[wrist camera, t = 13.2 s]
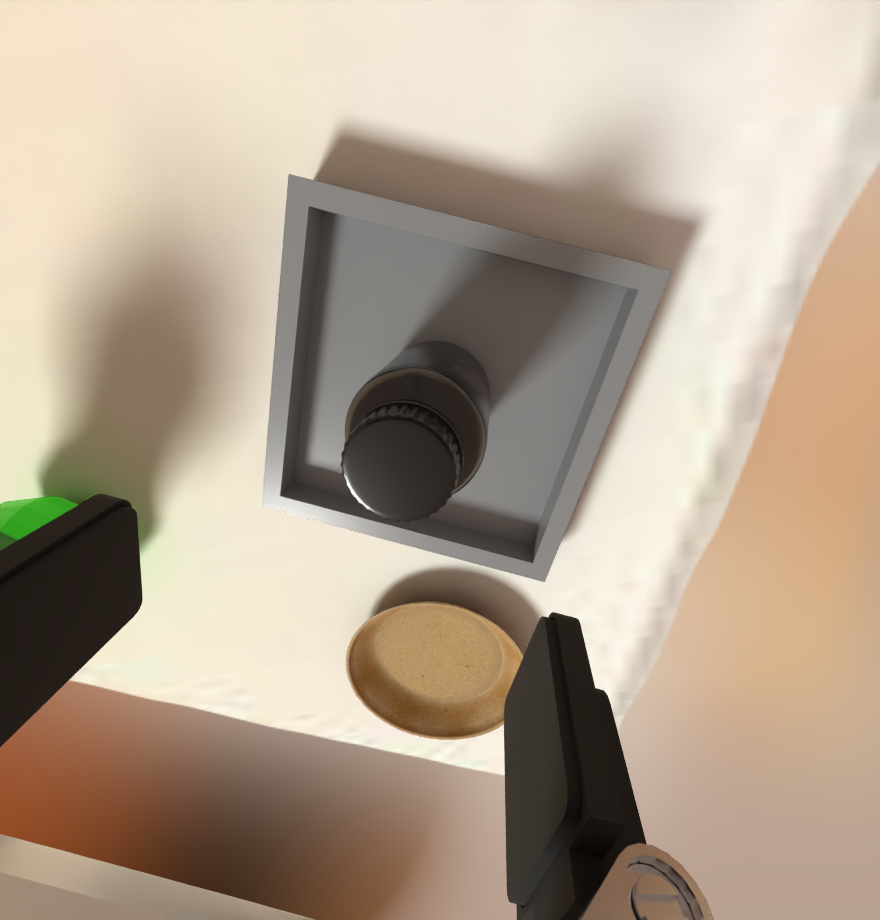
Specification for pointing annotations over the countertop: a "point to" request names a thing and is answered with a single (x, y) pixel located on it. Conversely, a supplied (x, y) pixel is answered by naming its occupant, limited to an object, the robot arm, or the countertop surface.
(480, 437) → the supplement bottle
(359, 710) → the countertop surface
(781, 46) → the countertop surface
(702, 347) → the countertop surface
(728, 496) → the countertop surface
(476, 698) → the plant saucer
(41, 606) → the robot arm
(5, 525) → the plastic bottle
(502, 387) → the tray
